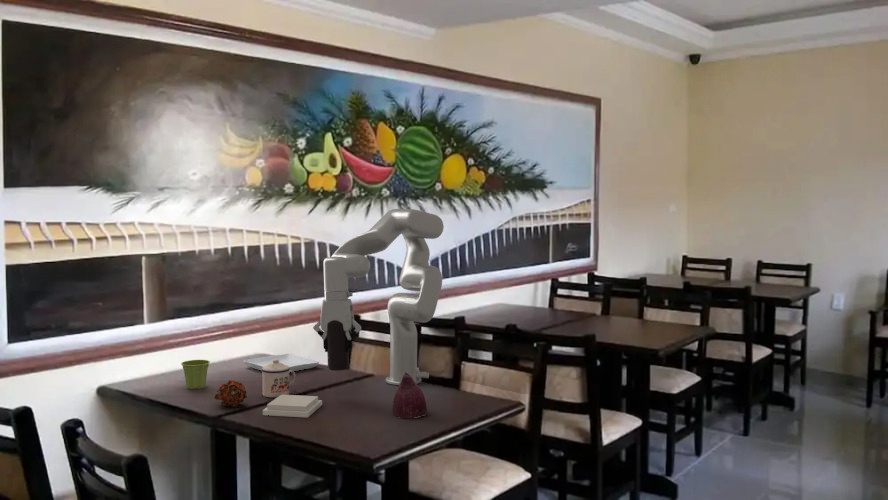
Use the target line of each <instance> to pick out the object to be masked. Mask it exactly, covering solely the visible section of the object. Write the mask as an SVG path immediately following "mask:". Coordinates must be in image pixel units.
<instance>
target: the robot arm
mask: <svg viewBox="0 0 888 500" xmlns="http://www.w3.org/2000/svg"><path fill="white" fill-rule="evenodd" d="M443 232H444V222H443V220H442V218H441V217H440V216H439V215H437V214H434V213H429V212H426V211H422V210H418V209H414V208H413V209H412V208H393V209H391V210H390V209H389V210H388V211H386V212H385V214H384V215H383V216H382V217H381V218H380V219H379V220H378V221H376V223H375V224H374V225H373V226H371V228H370V229H369V230H368V231H365V232H363V233H361V234H359V235H358V236H355V237H353V238H350V239H349V240H348V241H345V242H344V243H343V244H341V245H340V246H339V247H338V248H337V249H336V250H335V251H334V252H333V254H332V255H331V256H328V257H325V258H324V260H323V262H322V263H323V264H322V265H323V290H324V291H323V293H324V298H323V300H322V303H321V307H320V308H321V311H320V319H319V321H318V322H316V324H314V325H313V331H315V332H316V333H317V334H318V336H320V338H321V339H322V340H323V341H322V342H323V343H322V344H323V345H322V346H323V350H324V352H325V353H327V324H328V323H329V322H330V321H333V320H337V321H339V322H341V323H342V324H343V328H344V331H345V332H346V336H347V340H346V352H349V353H350V351H352V349H353V338H354V337H356V335H357V334H358V333H359V332H360V331H361V330H362V326H361V324H359V323H358V322H357V321H356V320H355V316H354V315H355V314H354V308H353V303H352V299H351V298H350V297H353V291H352V292H350V290H349V279H350V278H351V279H353V278H354V279H356V278H357V279H358V278H363V277H366V275H367V274H368V273H369V272H370V270H371V261H370V260H369V258H368V257H367V256H368V255H375V254H377V253H378V254H379V253H381V252H384V251H385V250H387V249H388V248H389V247H390V246H391V244H392V243H393V242H395V240H396V239H397V238H398V237H399V236H400V235H402V237H403V239H404V242H405V245H406V252H405V257H404V261H403V264H402V267H401V271H400V275H399V280H398V281H399V285H400V287H401V288H402V289H403V290H405V291H412V292H419V294H415V293H408V292H397V293H394V294H392V296H390V297H389V299H388V301H387V313H388V318H389V326H390V327H389V329H390V333H389V336H390V337H389V338H390V339H389V340H390V341H389V342H390V347H389V348H390V352H389V354H390V356H389V361H390V363H389V369H390V371H389V376H387V377H385V383H387V384H389V385H392V386H393V385H396V386H399V384H400V382H401V381H402V378H403V375H404V374H405V372H406V373H408V374H409V375H410V376H411V377H412V379H413V380H414V382H415V383H416V384H417V385H418V384H420V383H421V382H422V379H429V377H430V373H429V372H427V371H421V370H420V367H418V330H417V326H416V324H415V322H416V323H428V322H429V321H431V320H432V319H433V317H434V314H435V312H436V309H437V305H438V302H439V298H440V294H441V290H442V286H443V275H442V272H441V270H440V269H439V267H437V266H433V265H428V264H429V261H430V248H429V246H428V243H427V242H426V240H427V239H428V240H435V239H437V238H439V237H441V235H442V234H443ZM425 239H426V240H425ZM354 328H355V329H354ZM352 329H354V330H353V331H351V330H352Z"/></svg>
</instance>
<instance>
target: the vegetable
mask: <svg viewBox="0 0 888 500" xmlns="http://www.w3.org/2000/svg"><path fill="white" fill-rule="evenodd" d="M392 402H393V403H392V411H391V413H392V416H393V417H396V418H398V417H400V418H399V419H401V418H414V417H418V416H422V415H425V414H426V415H427V414H428V409H427V407H428V406H427V402H426V397H425V395H424V393H423V391H422V389H421V387H420V386H419V385H418V384H416V383H415V382H414V380H413V379H412V377H411V376H410V375H409V374H408V373H406V372H405V374H404V375H403V378H402V381H401V382H400V384H399V385H397V389H396V392H395V394H394V397H393V401H392Z"/></svg>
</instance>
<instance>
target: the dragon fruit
mask: <svg viewBox="0 0 888 500" xmlns="http://www.w3.org/2000/svg"><path fill="white" fill-rule="evenodd" d="M216 393H217V394H214V395H213V396H214V397H213V398H214V399H215V400H216V401H217V400H219V401H221V405H222V406H224V407H227V406H229V407H233V408H236V407H238V406H239V405H240V404H243V402H244V400H245V399H246V398H248V394H247V391H246V388H245V386H244V384H243V383H242V382H239V380H233V379H230V380H228V381H227V382H226V383H223V384H221V385H220V386H219V387H218V390H217V391H216Z"/></svg>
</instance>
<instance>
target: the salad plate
mask: <svg viewBox="0 0 888 500" xmlns="http://www.w3.org/2000/svg"><path fill="white" fill-rule="evenodd" d="M274 359H278V360H279V362H280V363H283V364H284V365H288V366H289V368H290V370H292V371H296V372H300V371H299V370H301V371H304V369H306V370H309V369H312V368H314V367H315V368H316V367H317V366H318V365H319V363H320V361H318V360H315V359H311V358H307V357H305V356H304V357H303V356H300V355H296V354H292V353H283V354H274V355H268V356H262V357H261V356H260V357H256V358H250V359H249V358H248V359H244V360H243V363H244V364H245V365H246V366H248V367H250V368H253V369H254V370H256V369H258V370H257V371H259V370H261V371H260V372H262V368H263V367H264V366H266V365H268V364H270V363H272V362H273V360H274Z"/></svg>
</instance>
